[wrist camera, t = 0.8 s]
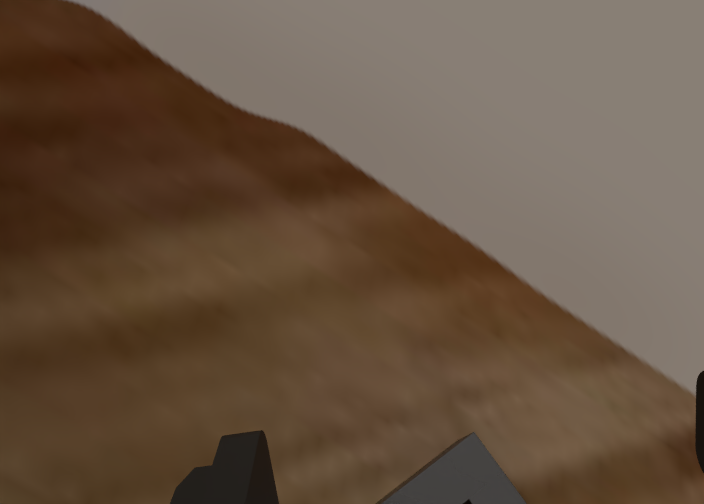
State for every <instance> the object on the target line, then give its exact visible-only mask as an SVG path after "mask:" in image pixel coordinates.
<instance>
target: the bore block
mask: <svg viewBox="0 0 704 504" xmlns="http://www.w3.org/2000/svg"><path fill="white" fill-rule="evenodd" d="M376 504H526V502H525V501H524V500H523V498H522V497H521V495H520V494H519V493H518V491H517V490H516V489H515V487H514V486H513V485H512V483H511V482H510V480H509V479H508V478H507V476H506V475H505V474H504V472H503V471H502V469H501V468H500V467H499V465H498V464H497V463H496V461H495V460H494V459H493V457H492V456H491V454H490V453H489V452H488V450H487V449H486V448H485V446H484V445H483V443H482V442H481V441H480V439H479V438H478V437H477V435H476V434H475V433H474V432H473V433H471V434H469V435H467V436H465V437H463V438H462V439H460V440H458V441H456V442H455V443H454V444H452V445H451V446H450V447H449V448H447V449H446V450H445V451H443V452H442V453H441V454H439V455H438V456H437V457H436V458H434V459H433V460H432V461H430V462H429V463H428V464H426V465H425V466H424V467H423V468H421V469H420V470H419V471H417V472H416V473H415V474H414V475H412V476H411V477H410V478H408V479H407V480H406V481H404V482H403V483H402V484H401V485H399V486H398V487H397V488H395V489H394V490H393V491H391V492H390V493H389V494H388V495H386V496H385V497H384V498H382V499H381V500H380V501H378V502H377V503H376Z"/></svg>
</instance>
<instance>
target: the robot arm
mask: <svg viewBox="0 0 704 504" xmlns="http://www.w3.org/2000/svg"><path fill="white" fill-rule="evenodd" d="M696 454H697V458H698V461H699V464H700V467H701V469H702V471H703V473H704V371H702V372H701V373H700V374H699V376H698V378H697V385H696ZM170 504H279V502H278V496H277V491H276V486H275V481H274V476H273V470H272V465H271V460H270V455H269V450H268V445H267V440H266V436H265V434H264V432H263V431H262V430H261V431H254V432H246V433H239V434H232V435H225V436H222V437H221V440H220V443H219V446H218V449H217V452H216V455H215V458H214V462H213V465H211V466H204V467H197V468H194V469H193V470H192V471H191V472H190V474H189V475H188V476H187V477H186V478H185V479H184V480H183V481H182V482H181V483H180V484H179V485H178V486H177V487H176V490H175V492H174V495H173V497H172V500H171V502H170Z"/></svg>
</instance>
